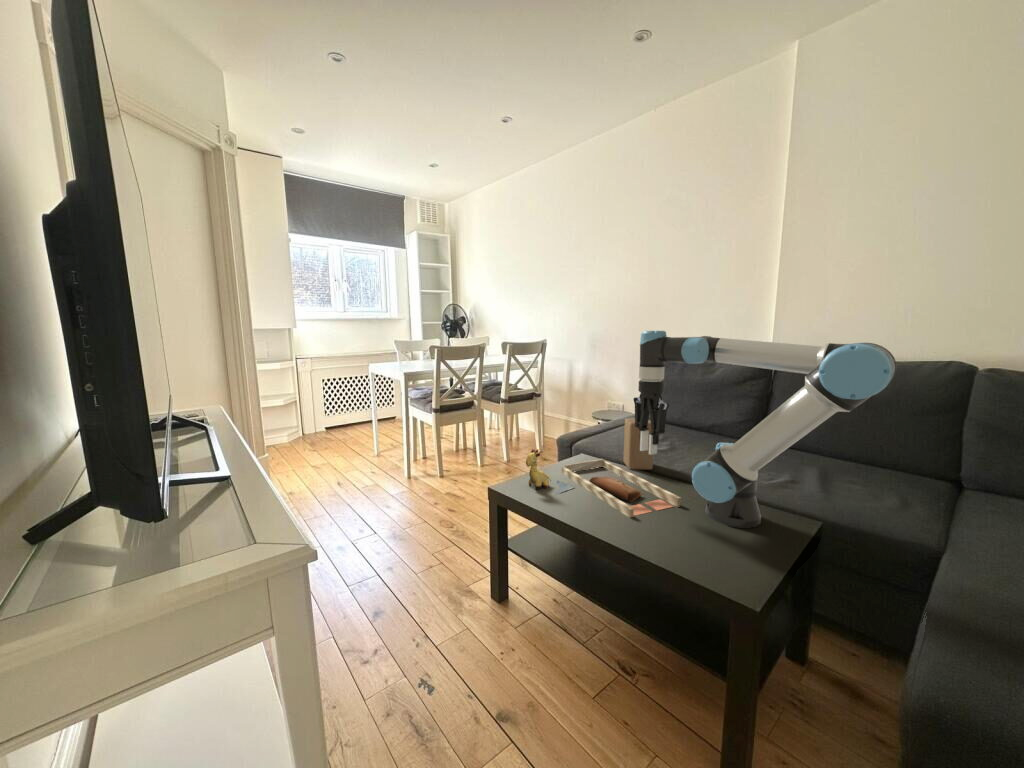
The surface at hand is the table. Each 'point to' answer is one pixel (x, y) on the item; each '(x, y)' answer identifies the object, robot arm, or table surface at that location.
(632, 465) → the block
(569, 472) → the wooden tray
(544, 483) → the stuffed giraffe
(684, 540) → the table surface
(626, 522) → the table surface
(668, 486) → the table surface
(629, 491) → the sunglasses case
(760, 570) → the table surface
